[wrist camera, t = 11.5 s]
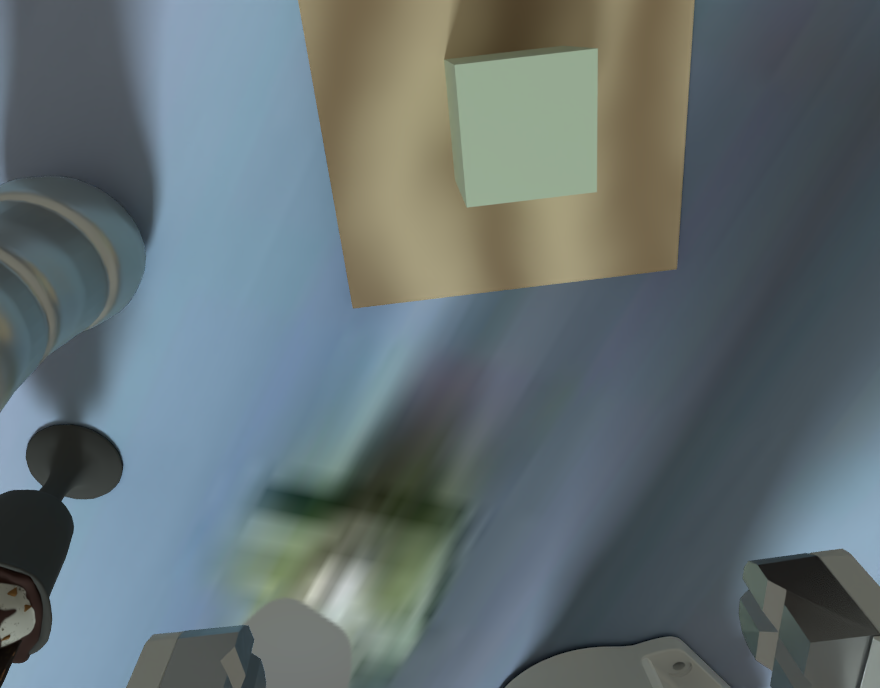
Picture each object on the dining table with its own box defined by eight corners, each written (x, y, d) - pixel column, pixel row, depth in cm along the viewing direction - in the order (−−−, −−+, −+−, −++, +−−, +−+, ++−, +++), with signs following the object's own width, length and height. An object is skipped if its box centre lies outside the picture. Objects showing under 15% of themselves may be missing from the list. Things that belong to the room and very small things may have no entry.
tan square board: (693, -124, 25) (702, -128, 24) (670, 263, 32) (676, 269, 31) (286, -78, 25) (283, -81, 24) (353, 302, 32) (352, 308, 31)
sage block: (563, 45, 27) (597, 48, 22) (564, 167, 29) (596, 192, 24) (443, 59, 27) (454, 64, 22) (454, 180, 29) (466, 207, 24)
